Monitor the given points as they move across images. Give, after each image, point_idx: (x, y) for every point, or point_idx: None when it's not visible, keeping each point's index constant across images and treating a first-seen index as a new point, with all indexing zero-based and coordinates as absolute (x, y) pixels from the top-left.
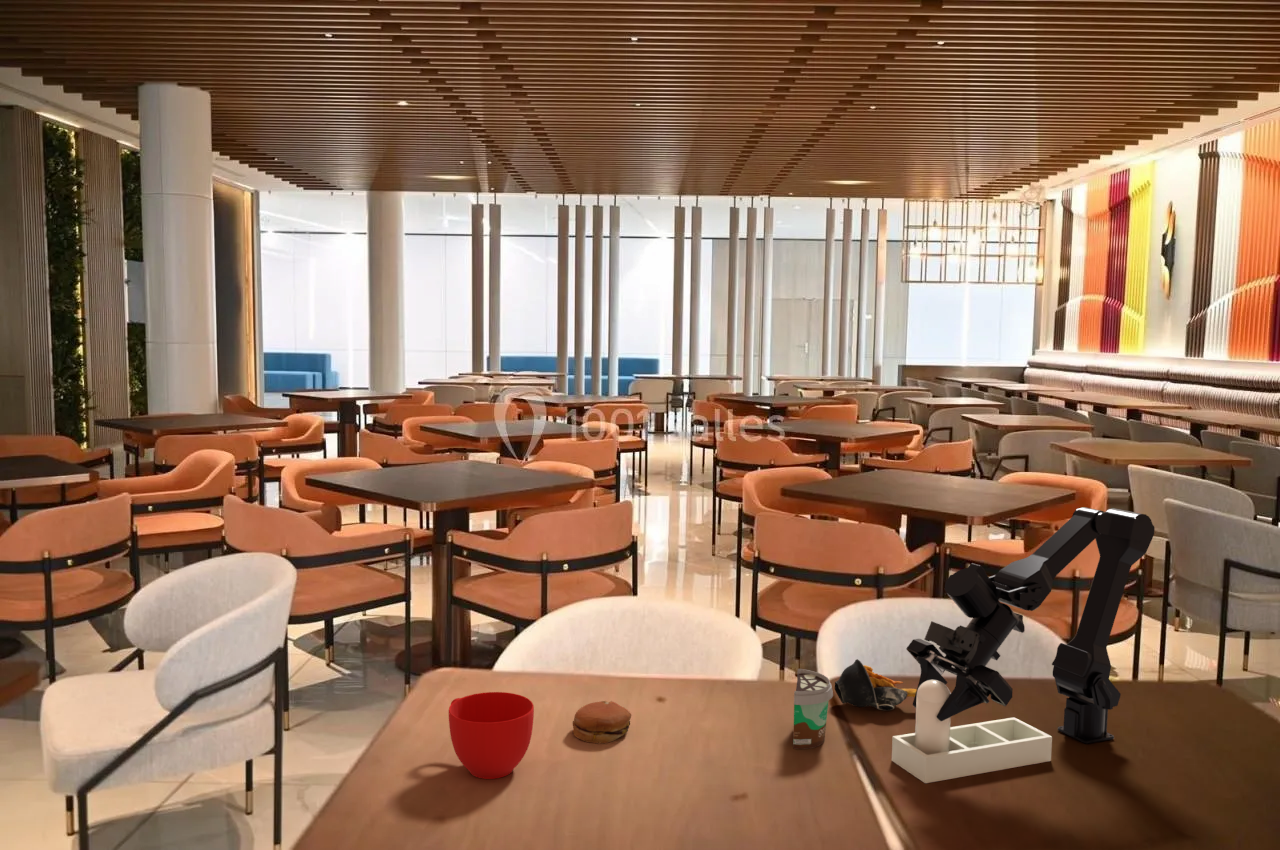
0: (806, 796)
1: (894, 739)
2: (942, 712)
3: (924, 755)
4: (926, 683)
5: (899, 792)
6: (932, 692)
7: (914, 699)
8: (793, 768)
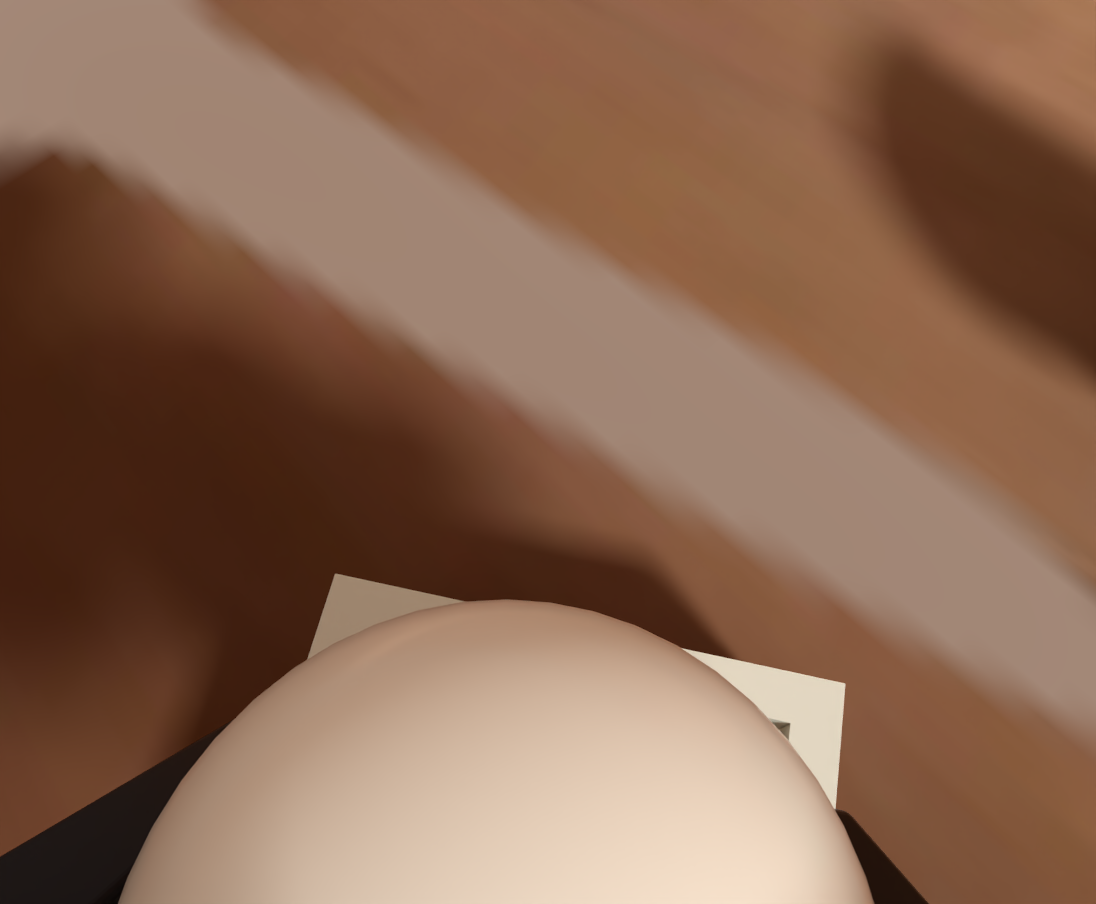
0: (641, 12)
1: (804, 677)
2: (170, 758)
3: (376, 600)
4: (581, 758)
5: (395, 393)
6: (314, 684)
7: (874, 856)
8: (949, 138)
